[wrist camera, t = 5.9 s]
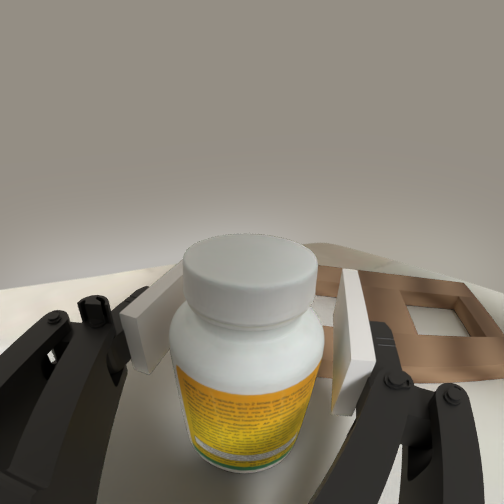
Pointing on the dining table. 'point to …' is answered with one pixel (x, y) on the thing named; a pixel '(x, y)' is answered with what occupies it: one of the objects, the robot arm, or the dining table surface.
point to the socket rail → (404, 332)
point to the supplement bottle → (246, 348)
